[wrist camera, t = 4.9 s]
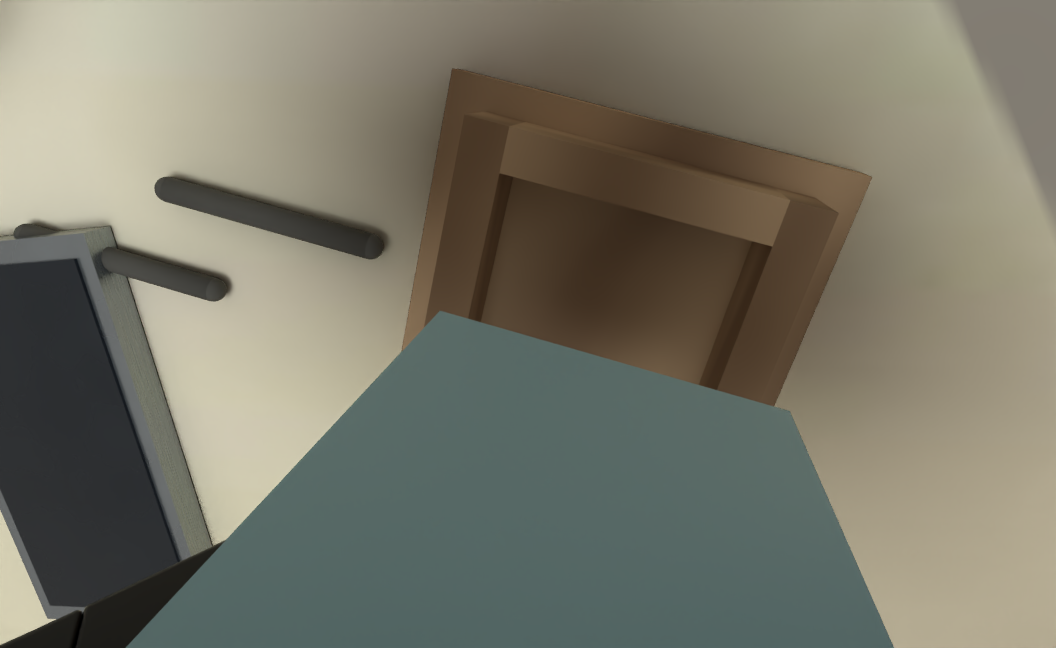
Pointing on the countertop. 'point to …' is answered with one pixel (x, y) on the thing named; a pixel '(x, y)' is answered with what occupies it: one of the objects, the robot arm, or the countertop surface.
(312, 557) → the blue drawer box
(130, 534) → the phone
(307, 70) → the countertop surface
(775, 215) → the dock
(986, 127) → the countertop surface
